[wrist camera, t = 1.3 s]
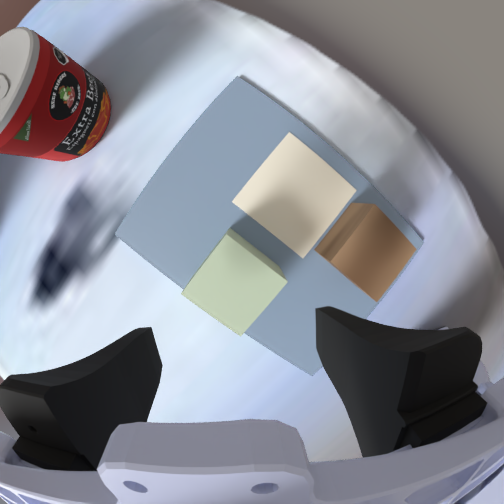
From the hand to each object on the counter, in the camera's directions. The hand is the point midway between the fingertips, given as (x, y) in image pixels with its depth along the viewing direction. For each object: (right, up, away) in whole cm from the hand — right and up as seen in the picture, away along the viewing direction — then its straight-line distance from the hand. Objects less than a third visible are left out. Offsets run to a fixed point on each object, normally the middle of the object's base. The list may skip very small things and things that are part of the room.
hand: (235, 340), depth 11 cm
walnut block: (+8, +4, +9) cm, 13 cm away
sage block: (0, +2, +9) cm, 9 cm away
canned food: (-14, +15, +7) cm, 22 cm away
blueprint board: (+3, +5, +9) cm, 10 cm away
